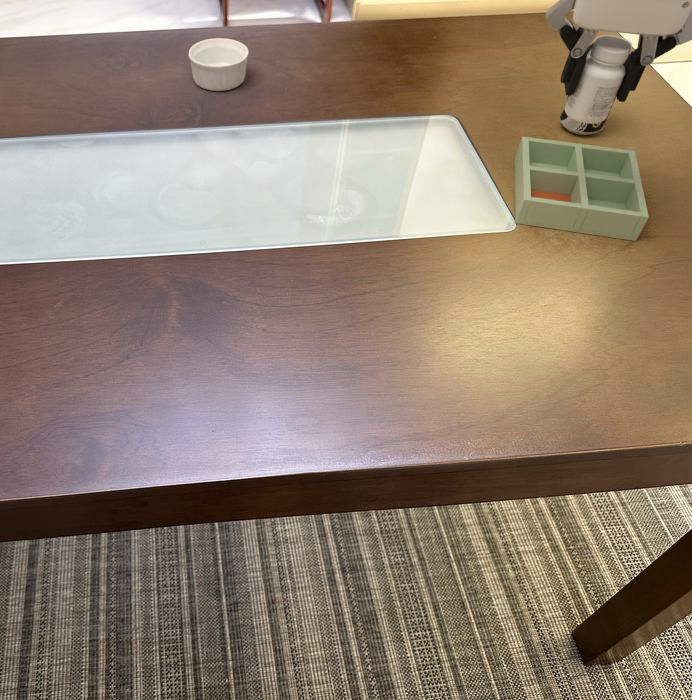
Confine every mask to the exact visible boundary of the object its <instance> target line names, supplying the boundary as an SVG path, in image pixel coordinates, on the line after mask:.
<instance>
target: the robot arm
mask: <svg viewBox="0 0 692 700" xmlns="http://www.w3.org/2000/svg"><path fill="white" fill-rule="evenodd" d="M572 11H573V14H572V21H570V20H569V19H568V18H567V17H566V16H567V15H568V14H569V13H571V12H572ZM545 21H546V23H547V24H548V25H549V27H551V28H552V29H553V30H554V32H555V33H557V34H558V35H559V37H560V39H561V40H562V42H563V43H564V44H565V46H566V48H567V50H568V51H569V53H568V56H567V58H566V60H565V63H564V66H563V69H562V71H561V75H560V83H561V84H564V93H565V96H567V97H568V96H571V95H574V92H575V90H576V87H577V85H578V82H579V80H580V77H581V74H582V72H583V69H584V67H585V64H586V55H585V54H586V50H587V48H588V47H589V46H590V45H591V44H592V43H593V42H594V41H593V40H595V38H596V37H597V34H598V33H599V32H600V31H601V32H610V33H618V34H619V33H620V34H621V33H622V34H630V35H638V36H639V37H638V41H637V46H636V48H635V49H634V50H631V54H629V55H628V58H627V60H626V62H625V64H624V67H625V70H626V73H625V76H624V79H623V81H622V83H621V86H620V88H619V90H618V93H617V95H616V100H617V101H618V102H619V103H620V102H621V103H625V102H626V101H627V98H628V96H629V94H630V92H635V91H636V89H637V87H638V85H639V83H640V81H641V79H642V76H643V74H644V71H645V70H646V68H647V67H648V66H650V65H652V64H653V63H654V62H655V60H656V59H658V58H660V57H662V56H663V55H665V54H667V53H668V52H670V51H672V50H673V49H675V48H676V46H681V45H683V44H686V43H687V42H690V41H692V0H558V1H556V3H554V4H553V5H552V6H551V7H549V9H547V11H545ZM572 22H573V23H572ZM574 24H575V25H576V26H577V27H575V26H574Z"/></svg>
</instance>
